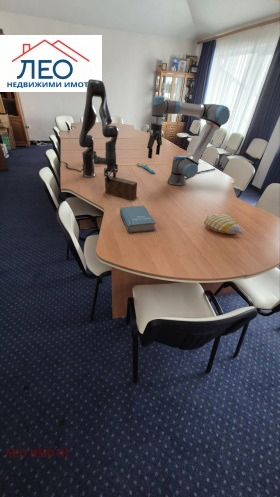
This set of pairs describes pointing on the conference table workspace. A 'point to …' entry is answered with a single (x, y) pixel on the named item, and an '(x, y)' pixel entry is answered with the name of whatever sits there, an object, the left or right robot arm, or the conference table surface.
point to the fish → (223, 224)
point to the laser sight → (98, 159)
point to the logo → (145, 167)
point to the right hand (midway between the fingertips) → (153, 156)
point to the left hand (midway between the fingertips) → (111, 180)
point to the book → (137, 219)
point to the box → (121, 188)
